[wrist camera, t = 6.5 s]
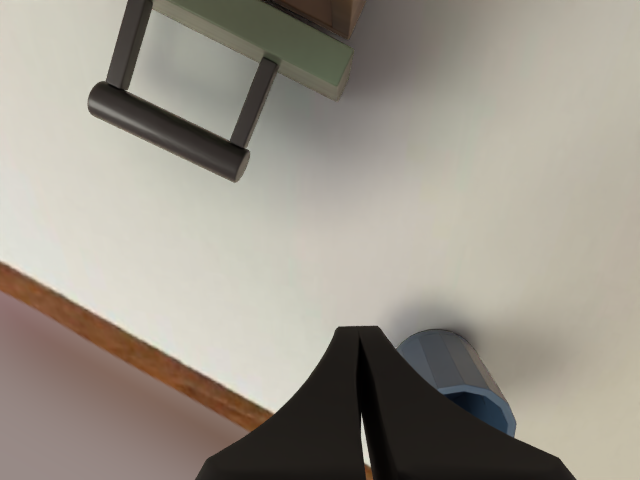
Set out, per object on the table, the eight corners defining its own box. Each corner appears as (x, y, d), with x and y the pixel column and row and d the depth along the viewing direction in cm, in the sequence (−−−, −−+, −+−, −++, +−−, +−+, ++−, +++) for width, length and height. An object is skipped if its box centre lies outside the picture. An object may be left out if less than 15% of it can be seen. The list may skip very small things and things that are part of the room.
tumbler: (494, 350, 22) (539, 412, 17) (447, 416, 23) (476, 490, 18) (417, 314, 21) (440, 367, 17) (374, 383, 23) (383, 450, 18)
